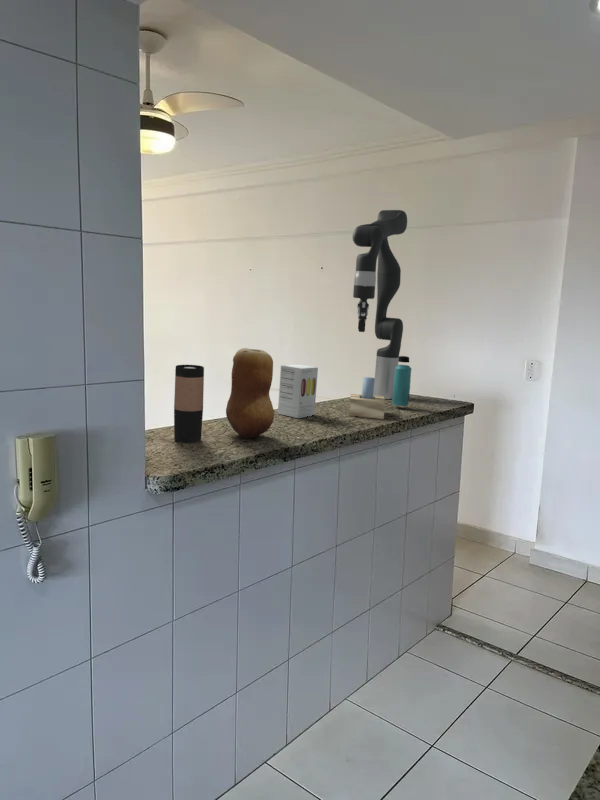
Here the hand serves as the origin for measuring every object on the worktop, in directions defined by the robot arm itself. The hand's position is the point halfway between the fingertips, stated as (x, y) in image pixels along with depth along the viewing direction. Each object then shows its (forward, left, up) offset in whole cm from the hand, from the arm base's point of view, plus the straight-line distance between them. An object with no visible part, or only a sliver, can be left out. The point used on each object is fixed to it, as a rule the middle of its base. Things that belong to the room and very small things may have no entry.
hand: (361, 330), depth 211 cm
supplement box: (+16, -20, -29) cm, 39 cm away
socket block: (+5, +4, -29) cm, 30 cm away
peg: (+5, +4, -28) cm, 29 cm away
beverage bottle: (-12, +17, -29) cm, 36 cm away
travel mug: (+61, -45, -29) cm, 81 cm away
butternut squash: (+52, -30, -29) cm, 67 cm away
